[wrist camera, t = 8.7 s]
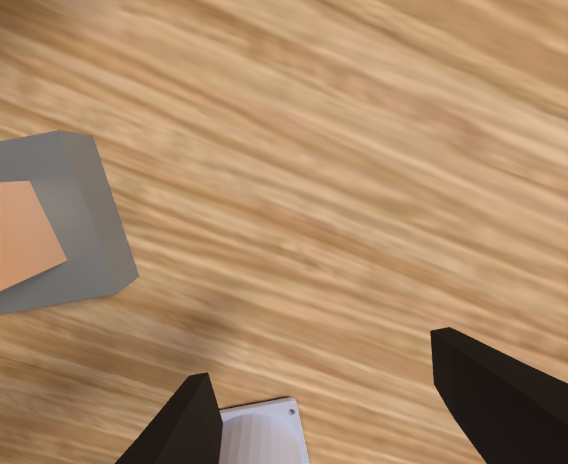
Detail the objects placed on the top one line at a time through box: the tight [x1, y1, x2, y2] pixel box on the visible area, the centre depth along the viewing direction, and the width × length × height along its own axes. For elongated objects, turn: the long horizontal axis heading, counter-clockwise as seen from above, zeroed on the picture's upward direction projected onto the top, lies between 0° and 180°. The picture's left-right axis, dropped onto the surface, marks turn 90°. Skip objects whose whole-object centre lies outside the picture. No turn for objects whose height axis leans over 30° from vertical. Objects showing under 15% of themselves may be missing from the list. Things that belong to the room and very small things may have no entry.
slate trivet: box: [0, 130, 139, 315], centre depth 16 cm, size 9×9×3 cm
